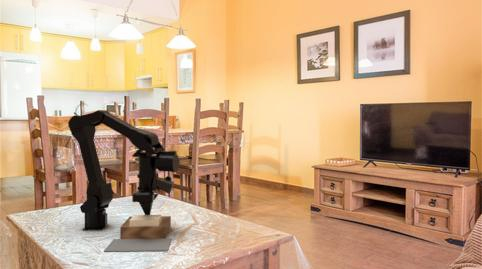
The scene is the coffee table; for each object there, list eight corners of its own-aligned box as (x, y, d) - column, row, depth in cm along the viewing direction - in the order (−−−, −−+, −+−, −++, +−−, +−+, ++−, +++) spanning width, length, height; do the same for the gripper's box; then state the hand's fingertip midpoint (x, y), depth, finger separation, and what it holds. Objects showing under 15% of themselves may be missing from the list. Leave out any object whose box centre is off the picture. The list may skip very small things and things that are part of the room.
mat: (103, 252, 103) (103, 250, 103) (113, 239, 113) (113, 238, 113) (167, 251, 104) (167, 250, 104) (172, 239, 114) (171, 238, 114)
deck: (120, 239, 113) (120, 227, 113) (129, 227, 125) (129, 216, 125) (165, 239, 114) (165, 226, 114) (170, 227, 126) (170, 216, 126)
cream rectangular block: (129, 226, 114) (129, 220, 113) (133, 221, 119) (133, 215, 119) (158, 226, 114) (158, 219, 114) (161, 220, 120) (161, 214, 120)
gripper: (168, 175, 111) (168, 225, 112) (175, 166, 130) (175, 209, 130) (131, 175, 110) (132, 225, 111) (143, 166, 129) (144, 209, 130)
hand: (148, 216), depth 121 cm, fingers closed
